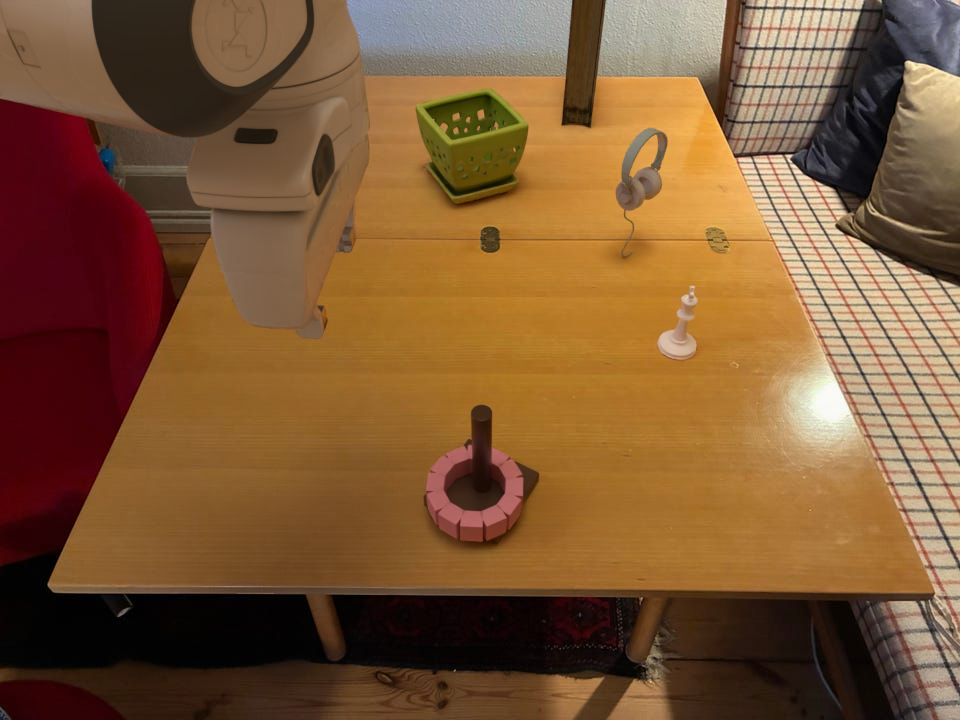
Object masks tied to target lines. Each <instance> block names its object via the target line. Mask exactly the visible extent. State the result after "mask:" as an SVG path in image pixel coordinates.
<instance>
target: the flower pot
mask: <svg viewBox="0 0 960 720" xmlns="http://www.w3.org/2000/svg"><path fill="white" fill-rule="evenodd" d="M480 111H483V116H484V117H482V118H480V119H479V115H478V113H479V112H480ZM415 113H416V114H415V115H416V119H417V125H418V130H419V133H420V136H421V138H422V139H421V140H422V142H423V144H424V146H425V149H426V151H427V153H428V155H429V157H430V159H431V160H432V161H428V162H426V163H425V166H426V169H427V170H428V171H429V173H430V174H431V175H432V177H433V178H434V179H435V181H436V182H437V183H438V185H439V186H440V188H442V190H443V191H444V192H445V194H446V195H447V196H448V198H449V199H450V200H451V201H452V203H454V204H456V205H462V204H465V203H468V202H473V201H476V200H479V199H485V198H488V197H491V196H495V195H499V194H507V193H508V192H509V191H511V190H513V189H515V188H516V187H517V186H518V184H519V179H518V178H517V177H516V176H515V175H514V172H515V171H516V169H517V168H518V166H519V164H520V163H521V160H522V158H523V155H524V152H525V149H526V146H527V141H528V135H529V123H528V122H527V120H526V119H525V118H524V117H523V116H522V115H521V113H520V112H518V110H516V108H514V106H513V105H511V104H510V103H509V102H508V101H507V100H506V99H505V98H504V97H503V96H502V95H500V94H499V93H498V92H496V91H495V90H494V89H492V88H490V87H489V88H481V89H477V90H471V91H467V92H461V93H456V94H452V95H449V96H444V97H439V98H435V99H433V100H429V101H425V102H423V103H418V104H416V105H415ZM457 114H458V115H459V118H457V119H454V118H453V116H454V115H457ZM468 118H469V120H468V121H467V119H468ZM443 124H445V125H446V126H447V128H446V131H444V130H443V129H442V128H441V126H442V125H443ZM496 124H497V127H496ZM456 128H457V130H458V131H457V132H455V131H454V130H455V129H456ZM465 129H467V130H466V131H465ZM514 149H515V151H514Z"/></svg>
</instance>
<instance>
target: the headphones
mask: <svg viewBox="0 0 960 720" xmlns="http://www.w3.org/2000/svg"><path fill="white" fill-rule="evenodd" d="M654 136H656V138H657V151H656V155H655V158H654V161H653V162H652V163H651V164H650V166H646V167H643V168H641V169H640V170H637V171H636V173H635V174H634V176H633V177H632V175H630V174H631V171H632V168H633V165H634V163H635V161H636V158H637V157H638V155H639V153H640V151H641V149H642V148H643V147H644V146H645V144H646V143H647V142H648V141H649V140H650V139H651V138H652V137H654ZM668 142H669V141H668V136H667V134H666V133H664V132H663V131H661V130H659V129H657V128H655V127H647V128H645V129H643V130H642V131H640V132H639V133H638V134H637V135H636V137H635V138H634V139H633V140H632V141H631V143H630V144H629V146H628V148H627V150H626V152H625V154H624V156H623V160H622V164H621V175H620V176H621V181H620V182H618V184H617V186H616V188H615V199H616V202H617V204H618V206H619V207H620V208H621V209H623V210H624V211H623V217H624V219H625V220H626V221H628V222H629V223H631V226H632V230H631V233H630V236H629V238H628V239H627V240H626V242H625V244H624V246H623V248H622V250H621V257H622V258H623V259H624V258H625V259H626V258H627V257H629V256H630V255H631V253H633V250H632V249H631V250H630V251H629V252H628V253H627V254H626V255H624V251H625V248H626V247H627V245H628V243H629V242H630V241H631V238H632V237H633V234H634V231H635V224H634V222H633V221H632V220H631V219H630V218H628V217H627V215H626V212H632V211H635V210H636V209H638V208H640V207H641V206H642V205H643V203H644V201H647V200H648V201H650V200H652V199H654V198H655V197H656V196H657V195H659V194H660V192H661V190H662V188H663V180H662V176H661V174H660V172H659V171H660V170H661V169H662V163H663V160H664V158H665V156H666V151H667V148H668Z"/></svg>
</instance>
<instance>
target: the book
mask: <svg viewBox="0 0 960 720" xmlns="http://www.w3.org/2000/svg"><path fill="white" fill-rule="evenodd" d="M606 3H607V0H571V10H570V19H569V20H570V21H569V33H568V44H567V57H566V67H565V78H564V91H563V92H564V93H563V104H562V113H561V114H562V115H561V126H565V125H569V124H575V125H582V126H585V127H589V128H592V122H593V113H594V106H595V105H594V103H595V98H596V97H595V96H596V87H597V79H598V71H599V64H600V63H599V62H600V53H601V46H602V45H601V44H602V39H603V38H602V37H603V28H604V21H605V20H604V19H605V12H606Z"/></svg>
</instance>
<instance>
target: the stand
mask: <svg viewBox="0 0 960 720" xmlns="http://www.w3.org/2000/svg"><path fill="white" fill-rule="evenodd" d="M470 424H471V425H470V427H471V428H470V429H471V430H470V433H471V438H467V440H466V441H465V442H464V444H463V445H462V446H465V448H466V449H467V450H468V445H472V474H467V475H465V476H462V477H460V478H458V479H455V481H454V482H453V483H452V484H451V485H450V487H449V488H448V489H447V490H446V495H447V497H448V499H449V501H450V502H451V503H453V504H454V505H456V506H458V507H459V508H461V509H463V510H465V511H483V510H485V509H488V508H490V507H492V506H495V505H497V503H498V502H499V501H500V499H501V498H502V497H503V495H504V494H505V492H504V491H503V489H502V487H501V486H500V484H499V482H498V481H496V480H494V479H493V478H492V447H493V409H492V408H491V407H490V406H488V405H486V404H477V405H475V406H473V407H472V408H471V410H470ZM510 459H511V458H509V460H510ZM514 462H515V463H516V465H517V466H518V468H519V470H520V471H521V473H522V478H524V481H523V503H522V506H524V504H525V502H526V501H527V499H529V496H530V495H531V493H532V492H533V490H534V488H535V487H536V486H537V485H538V483H539V481H540V472H539V471H536V470H535V469H532V468H530V467H528V466H526V465H524V464H522V463H520V462H518V461H516V460H514ZM422 499H423V505H424V506H426V507H428V505H427V497H426V493H425V494H424V496H423V497H422ZM507 530H508V529H507V528H506V531H507ZM503 536H504V534H501V535H499V536H497V537H495V538H492V539H490V540H489V542H491V543H494V544H495V545H498V543H499V542H500V541H501V540H502V538H503ZM483 539H485V537H484V535H483Z"/></svg>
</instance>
